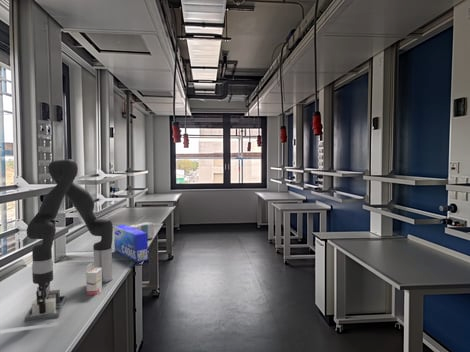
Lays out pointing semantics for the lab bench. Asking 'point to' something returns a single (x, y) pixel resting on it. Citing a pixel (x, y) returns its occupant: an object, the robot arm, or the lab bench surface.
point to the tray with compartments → (46, 316)
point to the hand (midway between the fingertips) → (44, 309)
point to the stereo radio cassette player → (145, 228)
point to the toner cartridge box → (131, 243)
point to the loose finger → (49, 307)
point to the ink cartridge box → (93, 280)
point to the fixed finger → (55, 295)
